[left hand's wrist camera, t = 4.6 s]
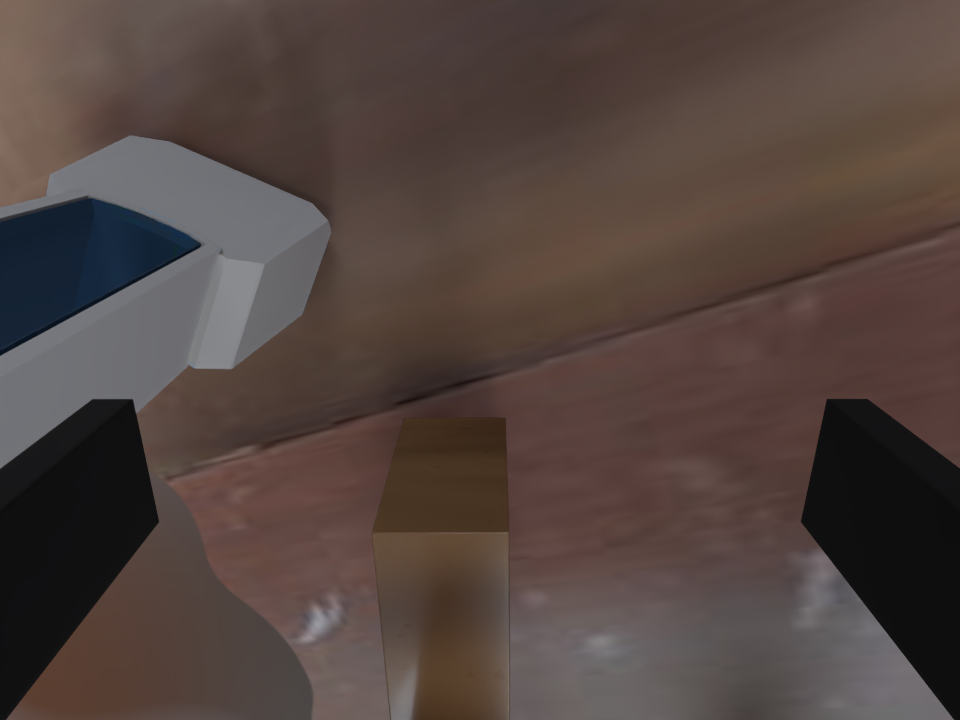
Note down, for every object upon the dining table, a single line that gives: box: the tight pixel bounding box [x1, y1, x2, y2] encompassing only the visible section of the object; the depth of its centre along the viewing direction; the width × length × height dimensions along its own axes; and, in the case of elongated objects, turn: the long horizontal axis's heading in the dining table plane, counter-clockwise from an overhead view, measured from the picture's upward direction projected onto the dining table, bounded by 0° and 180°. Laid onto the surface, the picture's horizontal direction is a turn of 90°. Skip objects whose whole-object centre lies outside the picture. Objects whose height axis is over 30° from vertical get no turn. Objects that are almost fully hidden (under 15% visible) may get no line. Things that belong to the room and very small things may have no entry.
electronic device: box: [0, 135, 331, 468], centre depth 29 cm, size 12×8×30 cm, turn 66°
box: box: [372, 418, 510, 720], centre depth 39 cm, size 26×6×11 cm, turn 1°
